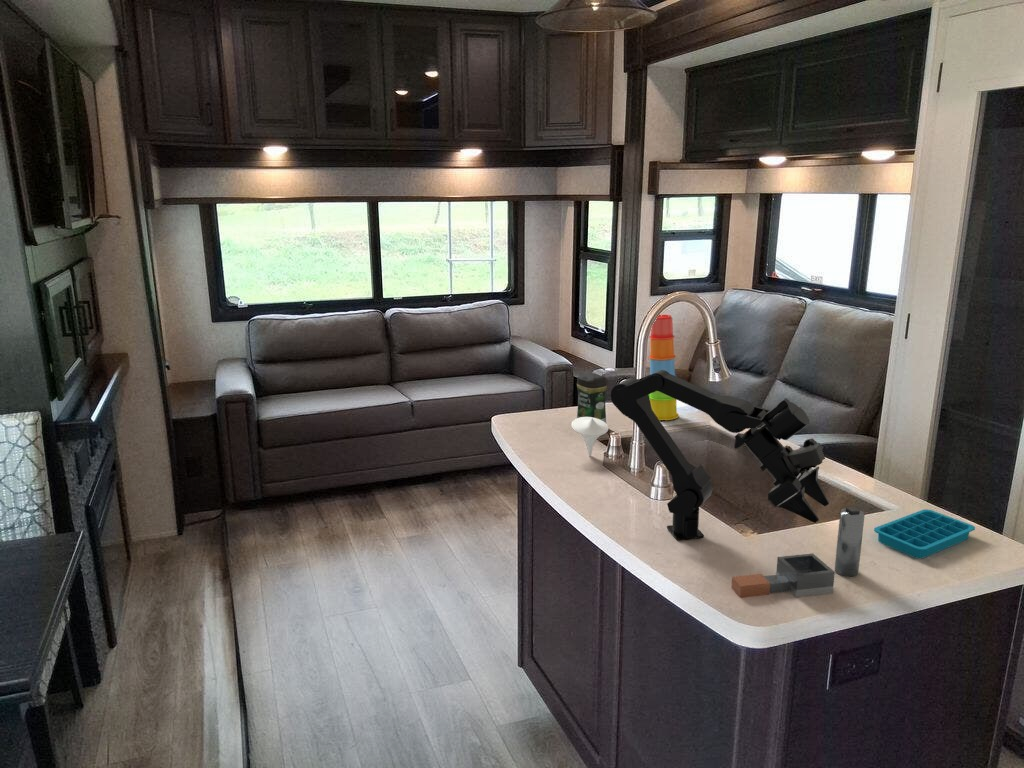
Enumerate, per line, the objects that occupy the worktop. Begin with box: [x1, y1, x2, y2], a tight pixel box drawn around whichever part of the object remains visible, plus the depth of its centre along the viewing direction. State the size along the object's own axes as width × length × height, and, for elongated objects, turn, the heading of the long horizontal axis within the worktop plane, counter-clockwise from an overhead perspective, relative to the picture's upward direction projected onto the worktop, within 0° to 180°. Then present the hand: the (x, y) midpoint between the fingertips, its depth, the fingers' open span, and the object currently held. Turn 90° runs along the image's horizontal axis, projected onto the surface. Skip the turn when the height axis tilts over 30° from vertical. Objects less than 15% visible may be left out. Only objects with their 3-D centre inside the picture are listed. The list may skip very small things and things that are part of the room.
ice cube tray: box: [873, 508, 976, 559], centre depth 163 cm, size 12×20×3 cm, turn 120°
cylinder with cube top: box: [834, 506, 865, 579], centre depth 149 cm, size 4×4×14 cm
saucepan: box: [731, 552, 836, 598], centre depth 145 cm, size 8×18×4 cm, turn 99°
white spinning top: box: [571, 417, 609, 457], centre depth 217 cm, size 10×11×12 cm
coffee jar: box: [576, 371, 608, 424], centre depth 240 cm, size 10×8×19 cm
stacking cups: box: [648, 314, 680, 421], centre depth 249 cm, size 10×10×35 cm
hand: (822, 513), depth 151 cm, fingers open, 9 cm apart
